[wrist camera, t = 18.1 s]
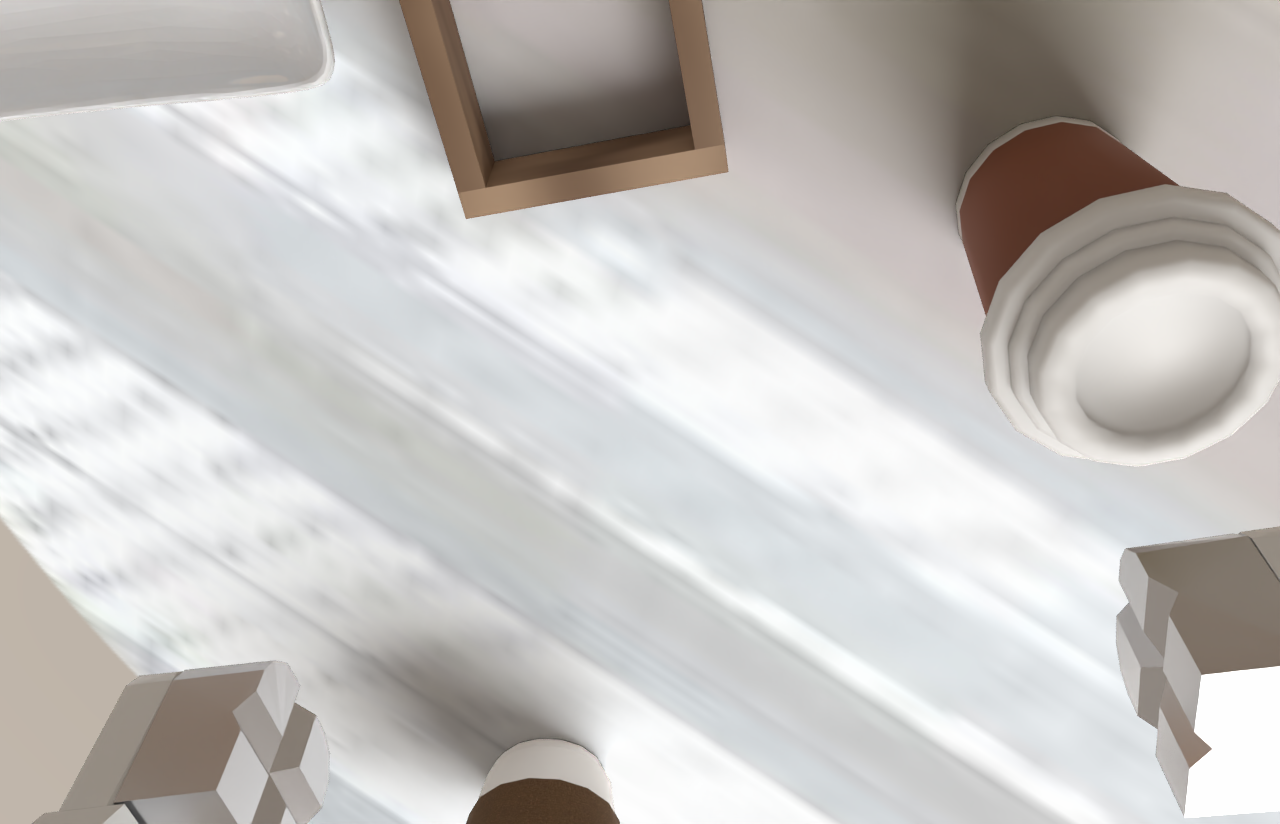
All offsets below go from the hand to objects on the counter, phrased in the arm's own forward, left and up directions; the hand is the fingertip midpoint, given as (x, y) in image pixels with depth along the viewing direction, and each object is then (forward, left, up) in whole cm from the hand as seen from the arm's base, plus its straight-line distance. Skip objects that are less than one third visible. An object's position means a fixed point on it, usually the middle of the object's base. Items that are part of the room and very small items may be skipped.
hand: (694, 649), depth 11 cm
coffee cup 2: (-12, +11, -31) cm, 35 cm away
